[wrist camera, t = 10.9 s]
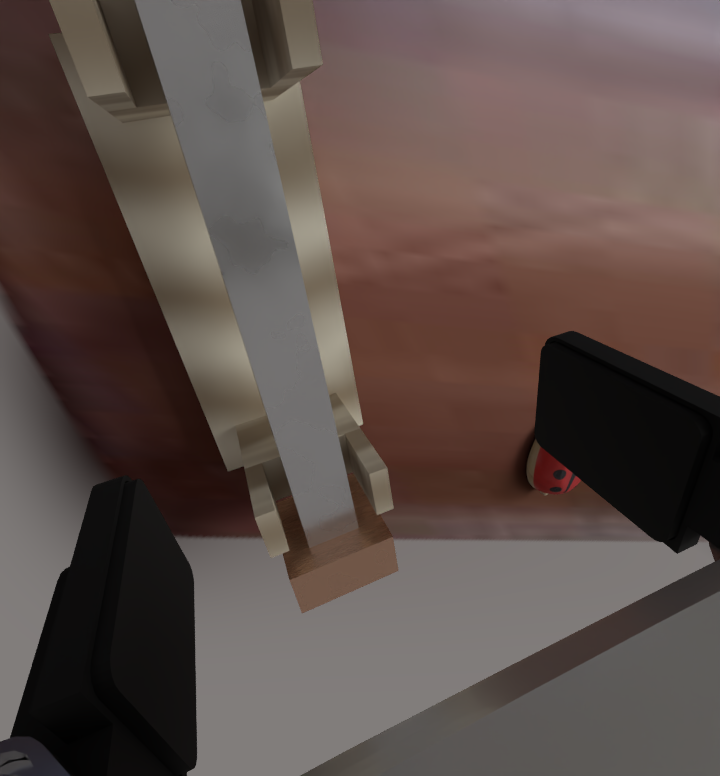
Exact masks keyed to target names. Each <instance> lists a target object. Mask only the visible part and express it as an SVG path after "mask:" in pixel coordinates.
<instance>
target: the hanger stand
mask: <svg viewBox="0 0 720 776" xmlns="http://www.w3.org/2000/svg"><path fill="white" fill-rule="evenodd" d="M49 1H50V4H51V6H52V9H53V11H54V14H55V16H56V19H57V21H58V24H59V26H60V29H61V31H62V33H54V34H49V37H50V39H51V42H52V44H53V47H54V49H55V51H56V54H57V56H58V59H59V61H60V64H61V66H62V69H63V71H64V73H65V76H66V78H67V81H68V83H69V86H70V88H71V90H72V93H73V95H74V98H75V100H76V103H77V105H78V107H79V110H80V112H81V115H82V117H83V120H84V122H85V125H86V127H87V129H88V132H89V134H90V137H91V139H92V142H93V144H94V146H95V149H96V151H97V154H98V156H99V159H100V161H101V163H102V166H103V168H104V171H105V173H106V176H107V178H108V181H109V183H110V185H111V188H112V190H113V193H114V195H115V198H116V200H117V202H118V205H119V207H120V210H121V212H122V215H123V217H124V219H125V222H126V224H127V227H128V229H129V232H130V234H131V237H132V239H133V241H134V244H135V246H136V249H137V251H138V254H139V256H140V258H141V261H142V263H143V266H144V268H145V271H146V273H147V275H148V278H149V280H150V283H151V285H152V288H153V290H154V293H155V295H156V297H157V300H158V302H159V305H160V307H161V310H162V312H163V314H164V317H165V319H166V322H167V324H168V327H169V329H170V332H171V334H172V336H173V339H174V341H175V344H176V346H177V349H178V351H179V353H180V356H181V358H182V361H183V363H184V366H185V368H186V370H187V373H188V375H189V378H190V380H191V383H192V385H193V388H194V390H195V392H196V395H197V397H198V400H199V402H200V405H201V407H202V409H203V412H204V414H205V417H206V419H207V422H208V424H209V426H210V429H211V431H212V434H213V436H214V439H215V441H216V444H217V446H218V448H219V451H220V453H221V456H222V458H223V461H224V463H225V465H226V468H227V470H228V471H231V470H234V469H237V468H240V467H243V466H244V469H245V474H246V479H247V483H248V488H249V493H250V497H251V502H252V507H253V512H254V516H255V520H256V522H257V525H258V527H259V530H260V532H261V535H262V537H263V540H264V542H265V545H266V547H267V550H268V552H269V555H270V557H271V558H273V557H275V556H278V555H280V554H283V553H285V552H288V551H289V547H288V544H287V540H286V537H285V533H284V530H283V526H282V523H281V519H280V515H279V512H278V508H277V505H276V500H279V499H282V498H284V497H287V496H290V495H292V494H291V490H290V487H289V484H288V481H287V478H286V475H285V472H284V469H283V465H282V462H281V459H280V456H279V453H278V450H277V447H276V444H275V440H274V437H273V434H272V431H271V428H270V425H269V422H268V419H267V415H266V412H265V409H264V406H263V403H262V400H261V397H260V394H259V391H258V387H257V384H256V381H255V378H254V375H253V372H252V369H251V366H250V362H249V359H248V356H247V353H246V350H245V347H244V344H243V341H242V337H241V334H240V331H239V328H238V325H237V322H236V319H235V316H234V312H233V309H232V306H231V303H230V300H229V297H228V294H227V291H226V288H225V284H224V281H223V278H222V275H221V272H220V269H219V266H218V263H217V259H216V256H215V253H214V250H213V247H212V244H211V241H210V238H209V234H208V231H207V228H206V225H205V222H204V219H203V216H202V213H201V209H200V206H199V203H198V200H197V197H196V194H195V191H194V188H193V185H192V181H191V178H190V175H189V172H188V169H187V166H186V163H185V160H184V156H183V153H182V150H181V147H180V144H179V141H178V138H177V135H176V131H175V128H174V125H173V122H172V119H171V116H170V113H169V110H168V107H167V103H166V100H165V97H164V94H163V91H162V88H161V85H160V82H159V78H158V75H157V72H156V69H155V66H154V63H153V60H152V57H151V53H150V50H149V47H148V44H147V41H146V38H145V35H144V32H143V28H142V25H141V22H140V19H139V16H138V13H137V10H136V7H135V4H134V0H49ZM241 4H242V8H243V13H244V17H245V22H246V26H247V31H248V35H249V40H250V44H251V49H252V53H253V58H254V62H255V67H256V71H257V75H258V80H259V84H260V89H261V93H262V98H263V102H264V107H265V111H266V116H267V120H268V125H269V129H270V134H271V138H272V143H273V147H274V151H275V156H276V160H277V165H278V169H279V174H280V178H281V183H282V187H283V192H284V196H285V201H286V205H287V210H288V214H289V219H290V223H291V228H292V232H293V236H294V241H295V245H296V250H297V254H298V259H299V263H300V268H301V272H302V277H303V281H304V286H305V290H306V295H307V299H308V304H309V308H310V312H311V317H312V321H313V326H314V330H315V335H316V339H317V344H318V348H319V353H320V357H321V362H322V366H323V371H324V375H325V380H326V384H327V388H328V393H329V397H330V402H331V406H332V411H333V415H334V420H335V424H336V429H337V433H338V438H339V442H340V447H341V451H342V456H343V460H344V464H345V469H346V473H347V474H348V473H351V472H353V473H354V475H355V477H356V479H357V480H358V482H359V484H360V486H361V487H362V489H363V491H364V493H365V495H366V496H367V498H368V500H369V502H370V503H371V505H372V507H373V509H374V511H375V512H376V514H377V515H379V514H381V513H384V512H386V511H389V510H391V509H393V502H392V495H391V489H390V483H389V477H388V470H387V467H386V465H385V464H384V462H383V461H382V459H381V458H380V457H379V455H378V454H377V452H376V451H375V449H374V448H373V446H372V445H371V443H370V442H369V440H368V439H367V438H366V436H365V435H364V433H363V432H362V430H361V429H360V427H359V426H360V425H363V421H362V416H361V410H360V405H359V400H358V394H357V389H356V383H355V378H354V373H353V367H352V362H351V356H350V351H349V345H348V340H347V335H346V329H345V324H344V318H343V313H342V308H341V302H340V297H339V291H338V286H337V281H336V275H335V270H334V264H333V259H332V253H331V248H330V243H329V237H328V232H327V226H326V221H325V216H324V210H323V205H322V199H321V194H320V188H319V183H318V178H317V172H316V167H315V161H314V156H313V151H312V145H311V140H310V134H309V129H308V123H307V118H306V113H305V107H304V102H303V96H302V91H301V86H300V80H302V79H303V78H305V77H306V76H308V75H309V74H310V73H312V72H313V71H315V70H316V69H317V68H319V67H320V66H322V65H323V63H322V57H321V51H320V44H319V38H318V32H317V26H316V19H315V13H314V7H313V1H312V0H241Z"/></svg>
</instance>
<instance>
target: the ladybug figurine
mask: <svg viewBox="0 0 720 776" xmlns="http://www.w3.org/2000/svg"><path fill="white" fill-rule="evenodd" d="M527 478H528V481H529V483H530V484H531V486H532V487H534V488H535V489H537V490H539V491H540V492H541V494H543V495H548V494H563V493H566V492H568V491H570V490H572V489H573V488H575V487H576V486H577V485H578V483H579V482H580V481H581V479H579V478H578V477H577V476H576V475H574V474H573V473H572V472H571V471H570V470H568V469H567V468H566V467H565V466H564V465H562V464H561V463H560V462H559V461H557V460H556V459H555V458H554V457H553V456H551V455H550V454H549V453H548V452H546V451H545V450H544V449H543V448H542V447H541V446H540V445H539V444H538V443H537V441H536V439H535V441H534V443H533V445H532V448H531V450H530V453H529V456H528V461H527Z"/></svg>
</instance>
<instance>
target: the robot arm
mask: <svg viewBox="0 0 720 776" xmlns="http://www.w3.org/2000/svg"><path fill="white" fill-rule="evenodd" d="M535 438H536V441H537V443H538V444H539V445H540V446H541V447H542V448H543V449H544V450H545V451H546V452H548V453H549V454H550V455H551V456H553V457H554V458H555V459H556V460H557V461H559V462H560V463H561V464H562V465H564V466H565V467H566V468H567V469H568V470H570V471H571V472H572V473H573V474H574V475H576V476H577V477H578V478H579V479H581V480H582V481H583V482H584V483H585V484H587V485H588V486H589V487H590V488H592V489H593V490H594V491H595V492H596V493H598V494H599V495H600V496H601V497H602V498H604V499H605V500H606V501H607V502H609V503H610V504H611V505H612V506H613V507H615V508H616V509H617V510H618V511H620V512H621V513H622V514H623V515H624V516H626V517H627V518H628V519H629V520H630V521H632V522H633V523H634V524H635V525H637V526H638V527H639V528H640V529H641V530H643V531H644V532H645V533H646V534H648V535H649V536H650V537H651V538H653V539H654V540H656V541H659V542H663V543H665V544H666V545H667V546H668V547H670V548H671V549H672V550H673V551H674V552H676V553H677V554H678V553H680V552H682V551H684V550H686V549H688V548H690V547H692V546H694V545H696V544H697V542H698V540H699V537H700V535H701V536H702V537H704V538H705V539H706V540H708V541H709V546H710V549H711V551H712V554H713V557H714V560H715V562H713V563H712V564H709V565H707V566H705V567H703V568H702V569H699V570H697V571H695V572H694V573H692V574H689V575H688V576H686V577H684V578H682V579H680V580H678V581H676V582H674V583H672V584H670V585H668V586H666V587H664V588H662V589H660V590H658V591H656V592H654V593H652V594H650V595H648V596H646V597H644V598H642V599H640V600H638V601H636V602H634V603H632V604H630V605H629V606H627V607H624V608H622V609H620V610H619V611H617V612H615V613H613V614H611V615H609V616H607V617H605V618H603V619H601V620H599V621H597V622H595V623H593V624H591V625H589V626H587V627H585V628H583V629H581V630H579V631H578V632H575V633H574V634H572V635H570V636H568V637H566V638H564V639H562V640H560V641H558V642H556V643H554V644H552V645H550V646H548V647H546V648H544V649H542V650H540V651H539V652H536V653H534V654H533V655H531V656H529V657H527V658H525V659H523V660H521V661H519V662H517V663H515V664H513V665H511V666H509V667H507V668H505V669H503V670H502V671H500V672H497V673H496V674H494V675H492V676H490V677H488V678H486V679H484V680H482V681H480V682H478V683H476V684H475V685H472V686H470V687H469V688H467V689H465V690H463V691H461V692H459V693H457V694H455V695H453V696H451V697H449V698H447V699H445V700H443V701H442V702H440V703H438V704H436V705H434V706H432V707H430V708H428V709H426V710H424V711H422V712H420V713H419V714H416V715H415V716H413V717H411V718H409V719H407V720H405V721H403V722H401V723H399V724H397V725H395V726H394V727H391V728H389V729H387V730H386V731H384V732H382V733H380V734H378V735H376V736H374V737H372V738H370V739H368V740H366V741H364V742H363V743H360V744H359V745H357V746H355V747H353V748H351V749H349V750H347V751H345V752H343V753H342V754H339V755H338V756H336V757H334V758H332V759H330V760H328V761H327V762H325V763H323V764H321V765H319V766H317V767H315V768H314V769H312V770H310V771H308V772H306V773H305V774H303V775H301V776H720V397H719V396H717V395H715V394H713V393H710V392H708V391H706V390H704V389H701V388H699V387H697V386H695V385H693V384H690V383H688V382H686V381H684V380H682V379H679V378H677V377H675V376H673V375H671V374H668V373H666V372H664V371H662V370H659V369H657V368H655V367H653V366H651V365H648V364H646V363H644V362H642V361H640V360H637V359H635V358H633V357H631V356H628V355H626V354H624V353H622V352H620V351H617V350H615V349H613V348H611V347H609V346H606V345H604V344H602V343H600V342H597V341H595V340H593V339H591V338H589V337H586V336H584V335H582V334H580V333H578V332H574V331H569V332H566V333H563V334H559V335H556V336H553V337H550V338H549V339H548V340H547V341H546V343H545V346H544V347H543V348H542V350H541V358H540V370H539V383H538V395H537V408H536V420H535ZM194 619H195V617H194V579H193V574H192V569H191V567H190V564H189V562H188V561H187V559H186V557H185V555H184V554H183V552H182V550H181V548H180V546H179V545H178V543H177V541H176V539H175V537H174V536H173V534H172V532H171V530H170V529H169V527H168V525H167V523H166V521H165V520H164V518H163V516H162V514H161V512H160V511H159V509H158V507H157V505H156V504H155V502H154V500H153V498H152V496H151V495H150V493H149V491H148V489H147V488H146V486H145V484H144V482H143V481H142V480H141V479H136V480H133V481H132V480H131V478H130V477H128V476H126V475H125V476H122V477H119V478H116V479H112V480H109V481H106V482H104V483H101V484H97V485H95V486H93V488H92V491H91V494H90V498H89V501H88V505H87V509H86V512H85V515H84V519H83V522H82V526H81V530H80V533H79V537H78V540H77V544H76V547H75V551H74V555H73V558H72V561H71V565H70V567H68V568H66V569H65V570H64V571H63V572H62V573H61V574H60V577H59V579H58V581H57V584H56V587H55V591H54V594H53V597H52V601H51V604H50V608H49V611H48V614H47V617H46V620H45V624H44V627H43V630H42V634H41V637H40V640H39V644H38V647H37V650H36V653H35V657H34V660H33V663H32V667H31V670H30V674H29V677H28V680H27V683H26V687H25V690H24V693H23V697H22V700H21V703H20V706H19V710H18V713H17V716H16V720H15V723H14V726H13V730H12V733H11V736H10V738H9V739H7V740H3V741H1V742H0V776H187V772H188V771H190V770H192V769H194V768H195V765H196V760H197V729H196V728H197V726H196V671H195V620H194Z"/></svg>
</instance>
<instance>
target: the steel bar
mask: <svg viewBox="0 0 720 776" xmlns="http://www.w3.org/2000/svg"><path fill="white" fill-rule="evenodd" d="M134 4H135V7H136V10H137V13H138V16H139V19H140V22H141V25H142V28H143V32H144V35H145V38H146V41H147V44H148V47H149V50H150V53H151V57H152V60H153V63H154V66H155V69H156V72H157V75H158V78H159V82H160V85H161V88H162V91H163V94H164V97H165V100H166V103H167V107H168V110H169V113H170V116H171V119H172V122H173V125H174V128H175V131H176V135H177V138H178V141H179V144H180V147H181V150H182V153H183V156H184V160H185V163H186V166H187V169H188V172H189V175H190V178H191V181H192V185H193V188H194V191H195V194H196V197H197V200H198V203H199V206H200V209H201V213H202V216H203V219H204V222H205V225H206V228H207V231H208V234H209V238H210V241H211V244H212V247H213V250H214V253H215V256H216V259H217V263H218V266H219V269H220V272H221V275H222V278H223V281H224V284H225V288H226V291H227V294H228V297H229V300H230V303H231V306H232V309H233V312H234V316H235V319H236V322H237V325H238V328H239V331H240V334H241V337H242V341H243V344H244V347H245V350H246V353H247V356H248V359H249V362H250V366H251V369H252V372H253V375H254V378H255V381H256V384H257V387H258V391H259V394H260V397H261V400H262V403H263V406H264V409H265V412H266V415H267V419H268V422H269V425H270V428H271V431H272V434H273V437H274V440H275V444H276V447H277V450H278V453H279V456H280V459H281V462H282V465H283V469H284V472H285V475H286V478H287V481H288V484H289V487H290V490H291V494H292V497H291V498H288V499H285V500H283V501H280V502H277V503H276V505H277V508H278V512H279V515H280V519H281V523H282V526H283V530H284V533H285V537H286V540H287V544H288V547H289V551H288V552H285V553H283V556H284V560H285V564H286V568H287V572H288V576H289V579H290V582H291V585H292V588H293V590H294V593H295V595H296V598H297V601H298V603H299V606H300V609H301V611H302V613H304V612H306V611H309V610H311V609H313V608H315V607H317V606H320V605H322V604H324V603H327V602H329V601H331V600H333V599H336V598H338V597H340V596H342V595H345V594H347V593H349V592H351V591H354V590H356V589H358V588H360V587H363V586H365V585H367V584H370V583H372V582H374V581H376V580H379V579H381V578H383V577H385V576H388V575H390V574H392V573H394V572H396V571H398V565H397V559H396V553H395V548H394V541H393V536H392V535H391V533H390V531H389V529H388V528H387V526H386V524H385V522H384V521H383V519H382V517H381V515H380V514H379V515H377V514H376V512H375V511H374V509H373V507H372V505H371V503H370V502H369V500H368V498H367V496H366V495H365V493H364V491H363V489H362V487H361V486H360V484H359V482H358V480H357V479H356V477H355V475H354V474H352V475H349V476H347V473H346V469H345V464H344V460H343V456H342V451H341V447H340V442H339V438H338V433H337V429H336V424H335V420H334V415H333V411H332V406H331V402H330V397H329V393H328V388H327V384H326V380H325V375H324V371H323V366H322V362H321V357H320V353H319V348H318V344H317V339H316V335H315V330H314V326H313V321H312V317H311V312H310V308H309V304H308V299H307V295H306V290H305V286H304V281H303V277H302V272H301V268H300V263H299V259H298V254H297V250H296V245H295V241H294V236H293V232H292V228H291V223H290V219H289V214H288V210H287V205H286V201H285V196H284V192H283V187H282V183H281V178H280V174H279V169H278V165H277V160H276V156H275V151H274V147H273V143H272V138H271V134H270V129H269V125H268V120H267V116H266V111H265V107H264V102H263V98H262V93H261V89H260V84H259V80H258V75H257V71H256V67H255V62H254V58H253V53H252V49H251V44H250V40H249V35H248V31H247V26H246V22H245V17H244V13H243V8H242V4H241V0H134Z"/></svg>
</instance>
